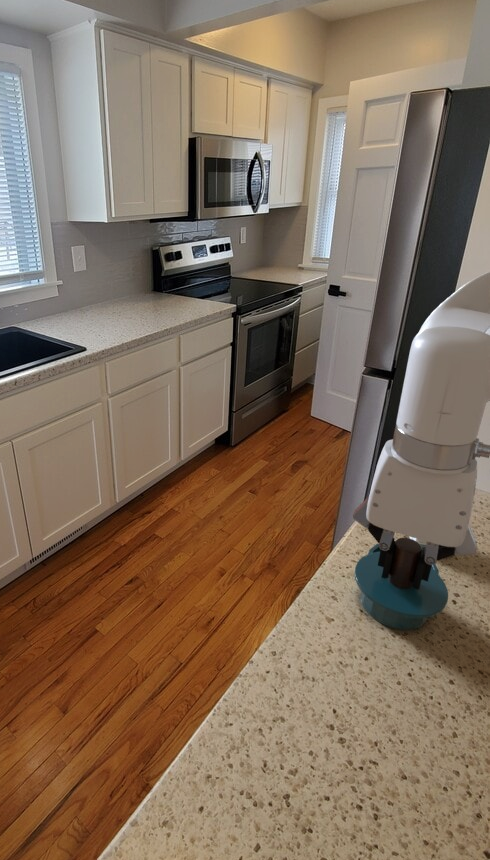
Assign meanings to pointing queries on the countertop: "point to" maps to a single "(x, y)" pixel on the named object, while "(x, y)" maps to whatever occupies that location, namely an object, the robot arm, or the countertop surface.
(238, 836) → the countertop surface
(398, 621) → the tin
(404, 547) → the lid
